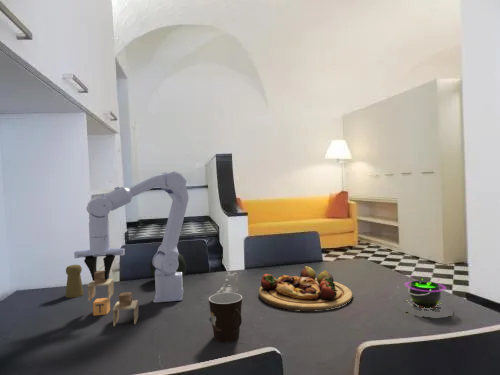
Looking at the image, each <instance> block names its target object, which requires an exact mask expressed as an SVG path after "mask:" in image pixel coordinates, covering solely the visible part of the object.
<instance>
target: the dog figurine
mask: <svg viewBox="0 0 500 375" xmlns="http://www.w3.org/2000/svg"><path fill="white" fill-rule="evenodd" d="M238 281H239V278H238V273H237V272H233V273H232V274H231V272H230V271H226V273H225V276H224V283H223V285H222V286H221V287H220V289H219V290H217V291H216V292H215V294H219V293H237V294H239V293H238V292H239V291H238V287H237V284H238Z"/></svg>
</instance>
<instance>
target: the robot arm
mask: <svg viewBox="0 0 500 375" xmlns="http://www.w3.org/2000/svg"><path fill="white" fill-rule="evenodd" d="M155 188H156V189H157V188H158V189H159V188H161V190H163V191H164V192H166V193H167V194H168V196H169V197H170V199H171V200H172V203H171V206H170V211H169V215H168V219H167V221H166V226H165V230H164V233H163V234H164V235H163V239H162V242H161V244H160V245H159V246H158V248H157V251H156V253H155V254H154V256H153V258H152V259H153V261H152V260H151V261H152V263H153V266H154V267H155V268H156V271H155V279H154V282H155V283H154V285H155V288H154V289H155V296H154V297H153V298H154V299H153V303H166V302H176V301H177V302H178V301H179V302H180V301H182V300H183V298H184V297H183V295H184V287H183V286H184V285H183V284H184V283H183V282H184V281H183V278H182V272H176V270H177V269H178V266H179V262H178V255H179V249H178V243H179V240H180V235H181V231H182V227H183V223H184V219H185V215H186V211H187V208H188V203H189V198H190V196H189V192H188V189H187V179H186V178H185V176H184V175H183V174H182V173H180V172H179V171H177V170H176V171H175V170H174V171H171V172H163V173H161V174H156V175H153V176H151V177H148V178H146V179H144V180H142V181H140V182H138V183H136V184H135V185H133V186H132V185H131V186H130V187H126V186H116V187H114V190H112V191H109V192H107V193H105V194H104V193H101V194H100V195H99V196H100V197H95V198H92V199H90V200H89V202H87V206H86V211H87V213H88V219H89V221H88V234H89V238H88V239H89V249H85V250H76V251H74V252H73V253H74V254H73V255H74V259H80V258H84V260H83V261H84V264H85V265H86V266H87V268H88V270H89V272H90V276H91V278H92V280H91V281H94V273H95V272H96V271H98V270H97V265H98V264H97V263H98V262H97V260H98V257H103V258H102V260H103V264H104V266H103V267H104V271H105V280H108V279H110V273H111V272H110V271H111V269H112V266H113V263H114V261H115V258H116V256H125V255H126V251H125V248H110V224H109V223H110V221H109V214H110V212H113V211H115V210H118V209H119V208H122V207H123V206H125V205H128V204H129V203H131V202H132V199H133V197H136V196H138V195H140V194H142V193H145V192H147V191H150V190H152V189H155Z"/></svg>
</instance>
